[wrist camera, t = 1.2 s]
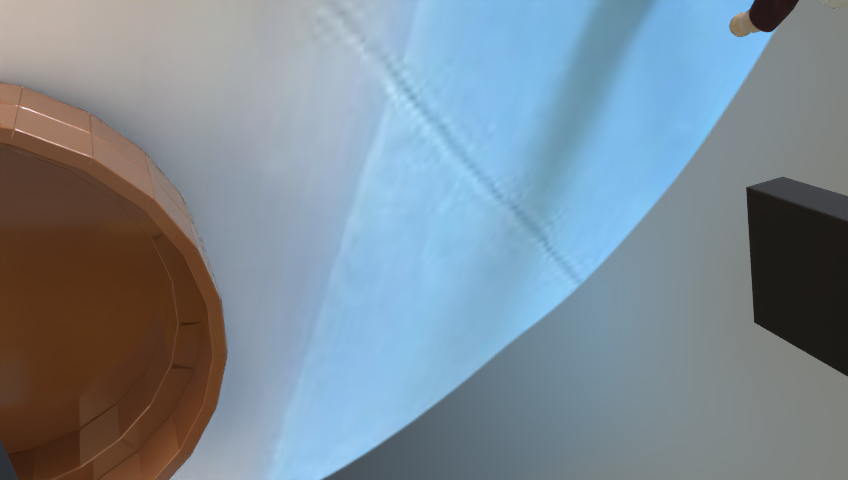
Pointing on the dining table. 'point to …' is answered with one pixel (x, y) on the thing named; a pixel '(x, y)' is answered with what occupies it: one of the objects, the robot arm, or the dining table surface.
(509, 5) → the dining table surface
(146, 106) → the dining table surface
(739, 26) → the grandmother figurine
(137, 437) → the bowl
